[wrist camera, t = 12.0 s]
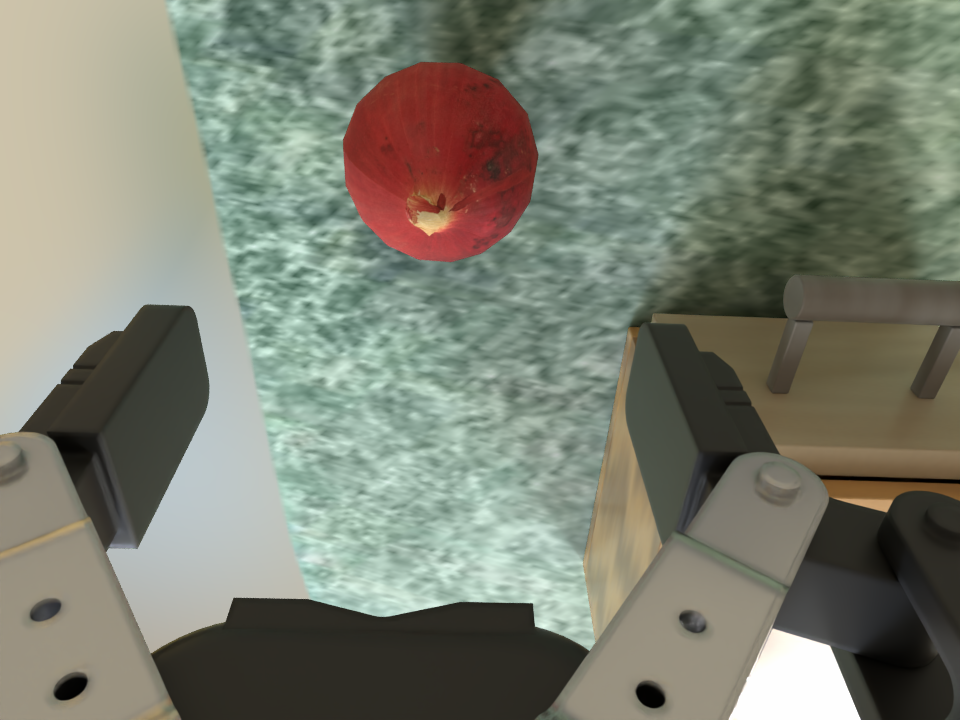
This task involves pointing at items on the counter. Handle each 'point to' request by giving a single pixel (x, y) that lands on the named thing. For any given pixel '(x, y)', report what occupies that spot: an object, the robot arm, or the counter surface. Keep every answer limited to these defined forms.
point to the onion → (440, 161)
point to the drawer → (852, 375)
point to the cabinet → (635, 542)
